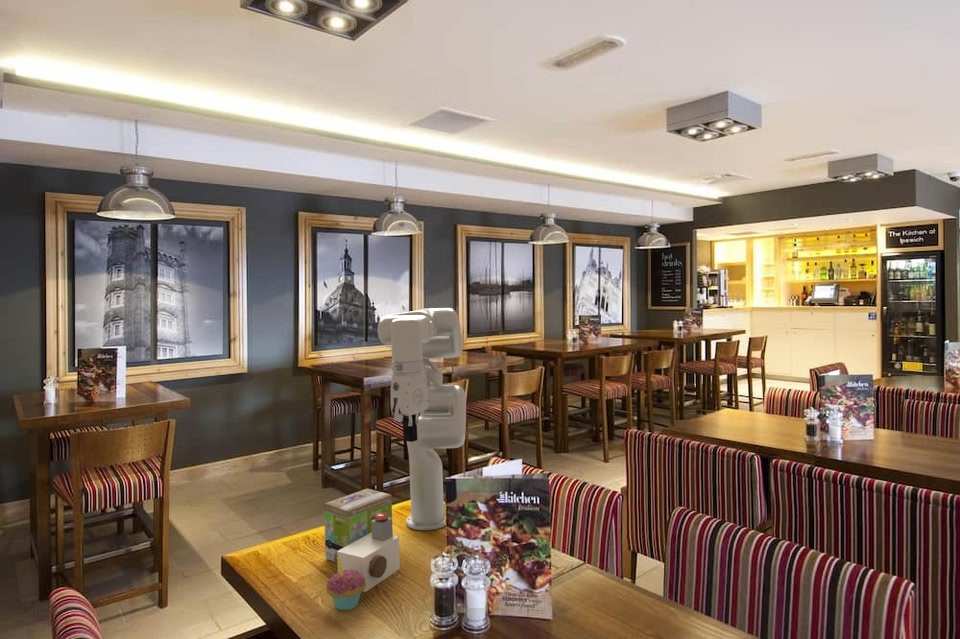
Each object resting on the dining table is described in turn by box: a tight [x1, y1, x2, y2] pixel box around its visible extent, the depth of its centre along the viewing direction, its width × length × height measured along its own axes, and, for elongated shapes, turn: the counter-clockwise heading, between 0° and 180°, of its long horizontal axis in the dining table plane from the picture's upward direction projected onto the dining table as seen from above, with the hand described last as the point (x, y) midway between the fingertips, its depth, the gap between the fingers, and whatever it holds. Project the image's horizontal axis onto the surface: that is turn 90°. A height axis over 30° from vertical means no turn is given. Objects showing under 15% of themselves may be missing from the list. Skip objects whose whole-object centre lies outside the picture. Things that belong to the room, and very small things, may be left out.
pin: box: [334, 551, 387, 578], centre depth 146 cm, size 13×5×5 cm, turn 60°
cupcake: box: [325, 555, 366, 611], centre depth 134 cm, size 9×8×12 cm
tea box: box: [324, 487, 393, 564], centre depth 160 cm, size 15×10×15 cm, turn 143°
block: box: [337, 517, 401, 593], centre depth 147 cm, size 13×8×12 cm, turn 150°
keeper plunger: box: [375, 512, 388, 522], centre depth 150 cm, size 3×3×5 cm
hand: (410, 440), depth 154 cm, fingers closed
